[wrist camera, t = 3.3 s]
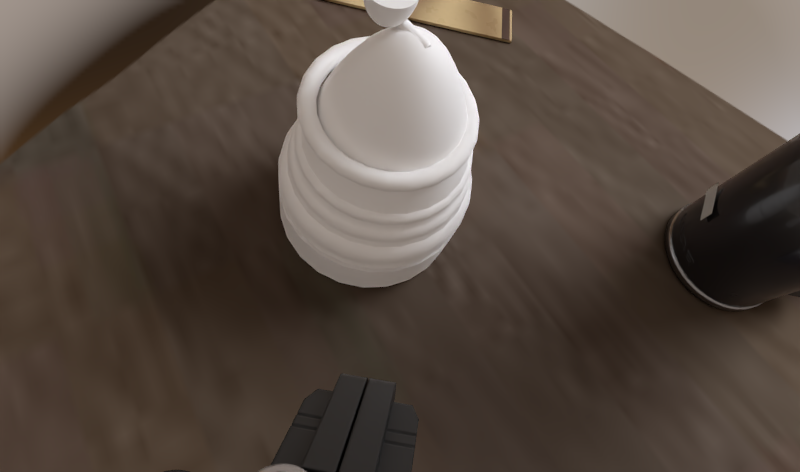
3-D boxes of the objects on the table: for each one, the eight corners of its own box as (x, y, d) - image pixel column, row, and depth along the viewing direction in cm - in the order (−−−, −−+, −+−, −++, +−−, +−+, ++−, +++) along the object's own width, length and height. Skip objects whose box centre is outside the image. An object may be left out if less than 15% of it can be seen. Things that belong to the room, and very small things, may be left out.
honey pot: (242, 191, 37) (200, -24, 20) (373, 106, 42) (424, -118, 26) (360, 325, 34) (420, 203, 18) (484, 218, 39) (616, 48, 23)
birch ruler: (510, 12, 49) (512, 9, 49) (510, 43, 48) (511, 40, 47) (325, -32, 47) (325, -35, 47) (318, -1, 45) (318, -4, 45)
